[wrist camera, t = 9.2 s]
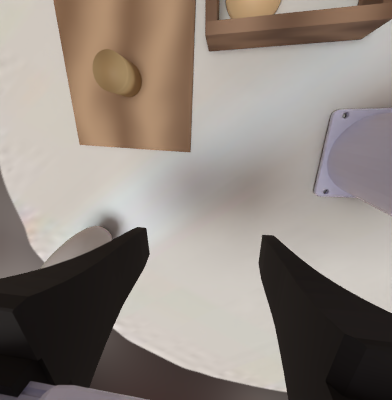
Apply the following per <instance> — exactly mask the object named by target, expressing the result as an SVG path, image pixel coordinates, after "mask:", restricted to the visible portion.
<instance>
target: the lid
mask: <svg viewBox="0 0 392 400" xmlns="http://www.w3.org/2000/svg"><path fill="white" fill-rule="evenodd" d="M195 3H196V0H54V6H55V11H56V17H57V22H58V28H59V33H60V39H61V44H62V50H63V55H64V61H65V66H66V72H67V77H68V83H69V88H70V94H71V99H72V105H73V110H74V116H75V121H76V127H77V132H78V138H79V143H80V145H92V146H107V147H121V148H136V149H150V150H165V151H179V152H190V148H191V119H192V90H193V61H194V32H195Z"/></svg>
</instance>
